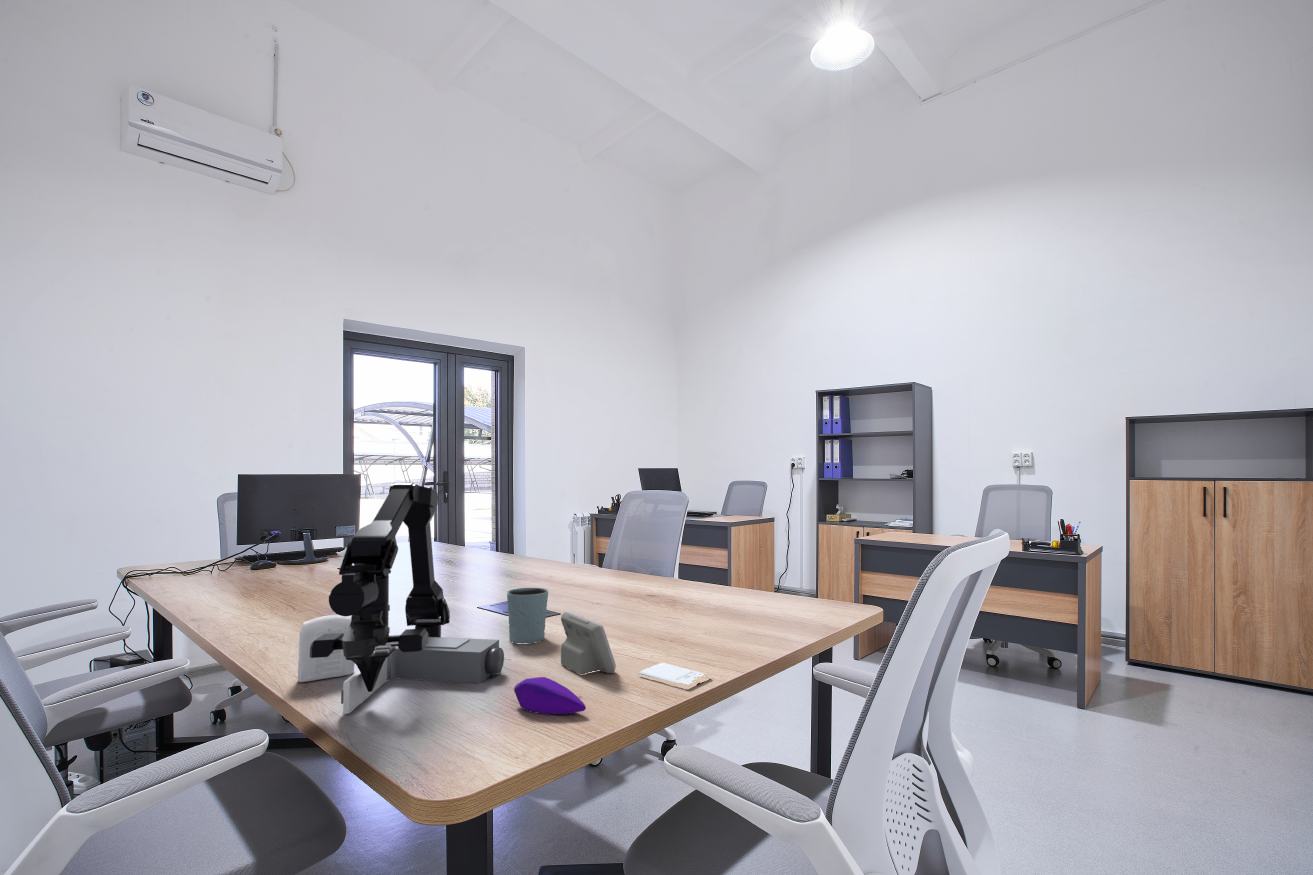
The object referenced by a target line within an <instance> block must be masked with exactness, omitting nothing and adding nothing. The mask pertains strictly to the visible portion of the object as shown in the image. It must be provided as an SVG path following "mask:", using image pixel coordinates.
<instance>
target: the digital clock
mask: <svg viewBox="0 0 1313 875" xmlns="http://www.w3.org/2000/svg"><path fill="white" fill-rule="evenodd" d="M560 622H561V624H562V626H563V630H564V634H565V637H566V639H565V640H564V641H563V642H562V643H561V646H560V665H561V664H562V665H561V666H563V665H564V666H566V667H568V668H570V669H571V670H570V669H569V670H570V671H572V670H573V671H572V672H574V671H575V672H577V673H579V674H585V673H588V672H592V671H597V670H601V671H600V672H603V671H604V672H603V673H605V672H606V673H605V674H613V673H615V671H616V668H617V665H616V660H615V659H614V655H613V653H612V649H611V647H610V644H609V643H610V642H609V640H608V637H607V633H606V631H605V629H604V626H603V625H602V623H601V624H600V623H599V622H597V621H593V620H591V619H589V618H587V617H584V616H581V615H579V614H576V613H573V612H568V611H567V612H566V611H565V612H563V613H562V614H561V617H560ZM564 666H563V667H564ZM566 667H565V668H566ZM568 668H567V669H568ZM575 672H574V673H575ZM612 672H613V673H612ZM577 673H576V674H577ZM579 674H578V675H579Z"/></svg>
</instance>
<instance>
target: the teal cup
mask: <svg viewBox="0 0 1313 875" xmlns="http://www.w3.org/2000/svg"><path fill="white" fill-rule="evenodd" d="M506 596H507V611H508V612H507V613H508V628H509V629H508V630H509V631H508V632H509V634H508V637H509V642H510V641H511V642H513V643H512V644H514V643H534V644H536V643H535V642H538V643H540V642H539V641H541V640H543V639H545V633H546V632H545V630H546V620H547V619H546V617H547V611H548V610H547V606H548V600H549V590H548V589H546V588H541V587H522V588H521V587H520V588H515V589H509V590H508V591H507V592H506ZM543 641H544V640H543ZM511 642H510V643H511ZM541 642H542V641H541Z"/></svg>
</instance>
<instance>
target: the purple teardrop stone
mask: <svg viewBox="0 0 1313 875" xmlns="http://www.w3.org/2000/svg"><path fill="white" fill-rule="evenodd" d="M513 691H514V694H515V696H516V699H517V701H518V704H519V707H520V708H522V709H523V710H525V711H527V712H529V711H531V712H530V713H534V712H538V713H537V714H541V713H544V714H543V715H565V714H567V715H568V714H574V713H579V712H584V711H585V710H587V707H586V705H585V703H584V702H583V701H582V699H581V698H579V696H577V695H576V694H575V693H574V692H572V691H571V690H570V689H568V687H566V686H565V685H562V683H561V684H560V683H559V682H558V681H555V680H554V679H552V678H548V677H545V676H538V677H530V678H525V679H524V680H522V681H520V682H517V683H516V685H515V686H514V688H513Z"/></svg>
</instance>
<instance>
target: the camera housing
mask: <svg viewBox="0 0 1313 875" xmlns="http://www.w3.org/2000/svg"><path fill="white" fill-rule="evenodd" d="M504 653H505V652H504V650H503V648H502V647H500V639H492V638H490V639H489V638H467V637H465V638H462V637H445V636H443V637H442V636H441V637H428V643H427V645H426V646H425V647H424V648H423V650H421V651H416V652H402V651H401V650H400V649H399V648H398V646H395V650H394V651H393V652H392V653H391V679H394V678H400V680H413V681H415V680H416V681H417V680H418V681H419V680H420V681H433V682H434V681H435V682H436V681H437V682H457V683H472V684H473V683H474V684H476V683H477V684H481V683H482V682H484V681H485V680H486V679H487V678H488V677H490V676H491V675H499V674H500V673H501V672H502V669H503V667H504V662H505V654H504Z"/></svg>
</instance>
